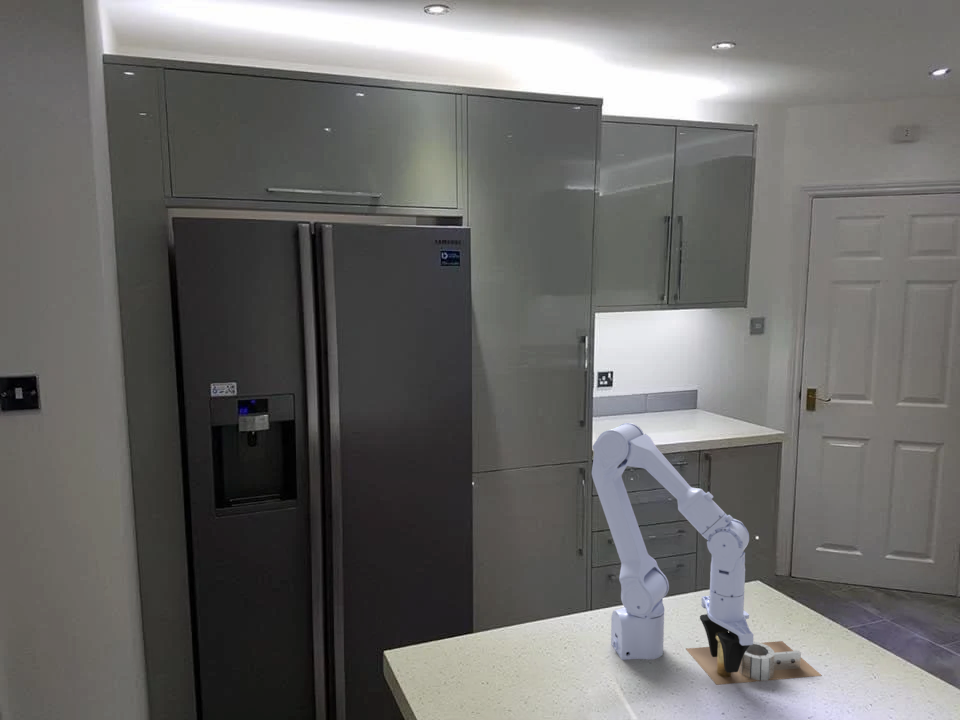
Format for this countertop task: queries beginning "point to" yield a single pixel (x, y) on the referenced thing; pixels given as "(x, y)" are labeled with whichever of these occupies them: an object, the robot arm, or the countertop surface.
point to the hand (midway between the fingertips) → (724, 663)
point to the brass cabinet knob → (721, 659)
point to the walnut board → (710, 667)
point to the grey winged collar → (767, 661)
